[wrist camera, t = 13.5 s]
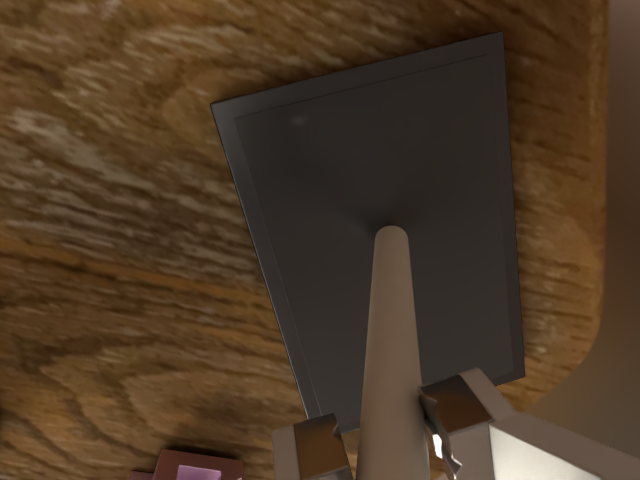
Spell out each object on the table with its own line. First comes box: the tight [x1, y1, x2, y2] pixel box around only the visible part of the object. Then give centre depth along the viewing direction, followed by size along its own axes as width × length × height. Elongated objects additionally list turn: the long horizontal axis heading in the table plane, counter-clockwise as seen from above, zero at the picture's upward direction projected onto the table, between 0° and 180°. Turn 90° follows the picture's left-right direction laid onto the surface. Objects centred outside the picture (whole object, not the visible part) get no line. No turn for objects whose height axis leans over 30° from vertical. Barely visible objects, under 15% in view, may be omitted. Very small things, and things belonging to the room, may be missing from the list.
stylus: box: [356, 226, 431, 480], centre depth 14 cm, size 2×2×15 cm
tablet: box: [210, 31, 525, 434], centre depth 22 cm, size 19×13×1 cm
